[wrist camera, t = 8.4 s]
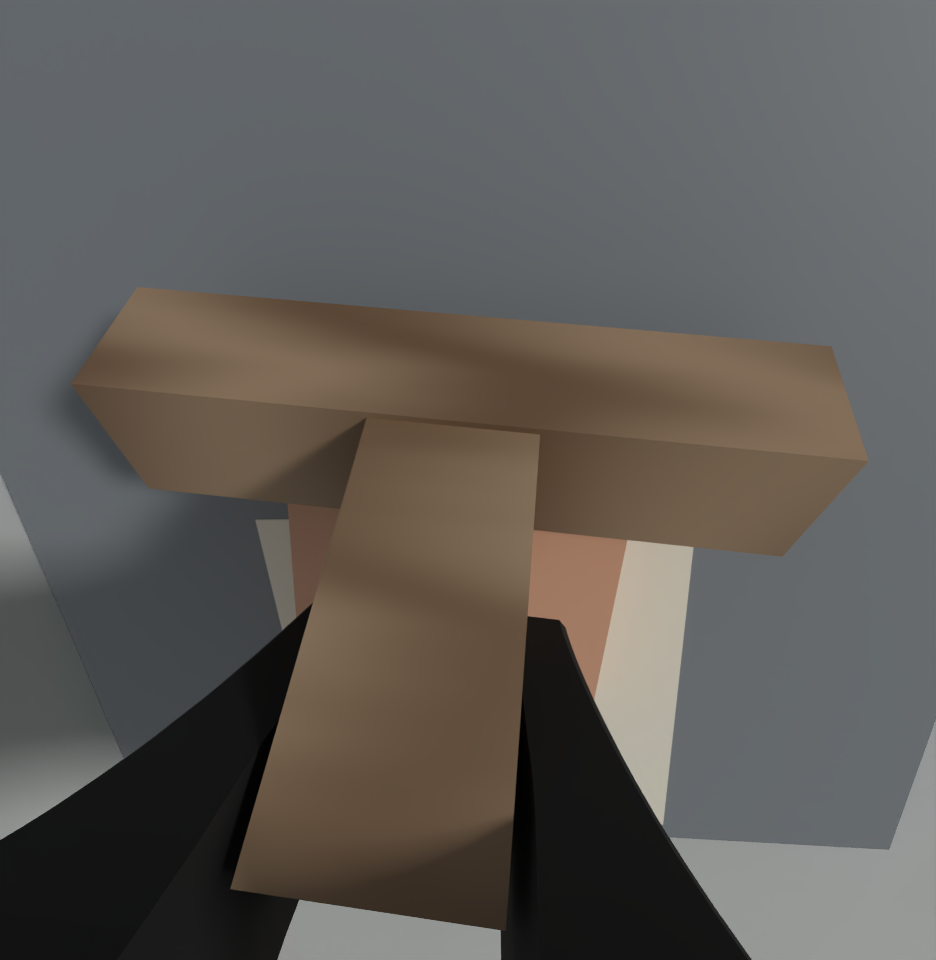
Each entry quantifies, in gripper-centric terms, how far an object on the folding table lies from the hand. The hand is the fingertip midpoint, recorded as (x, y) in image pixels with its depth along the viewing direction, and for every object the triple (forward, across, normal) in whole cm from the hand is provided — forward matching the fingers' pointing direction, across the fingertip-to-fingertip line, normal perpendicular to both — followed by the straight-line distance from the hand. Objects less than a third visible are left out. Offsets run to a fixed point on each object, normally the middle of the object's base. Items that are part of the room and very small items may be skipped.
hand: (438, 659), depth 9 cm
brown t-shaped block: (+2, 0, -4) cm, 4 cm away
